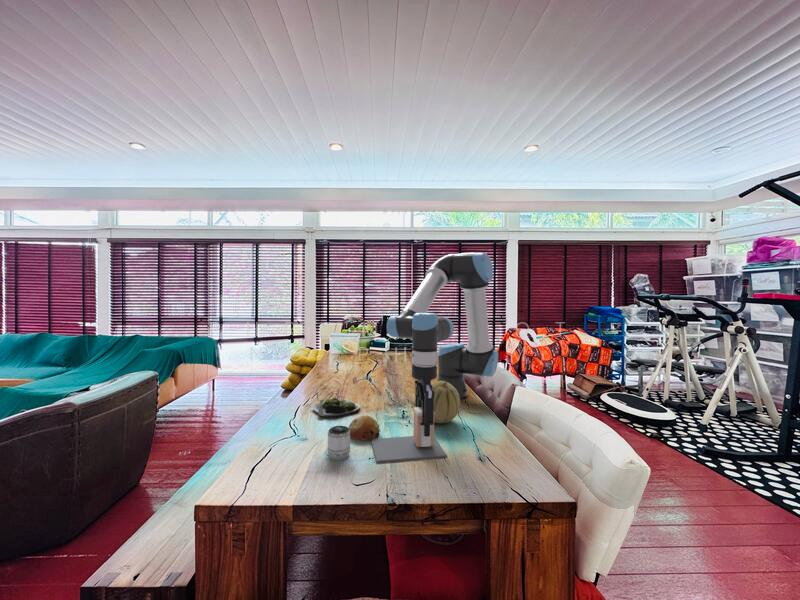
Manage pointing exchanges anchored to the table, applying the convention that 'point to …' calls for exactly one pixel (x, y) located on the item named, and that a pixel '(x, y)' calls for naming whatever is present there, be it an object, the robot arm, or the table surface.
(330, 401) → the salad plate
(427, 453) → the mat
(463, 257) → the robot arm
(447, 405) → the cantaloupe
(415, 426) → the block
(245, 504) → the table surface
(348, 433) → the camera lens
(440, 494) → the table surface
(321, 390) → the table surface
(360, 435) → the bread roll
